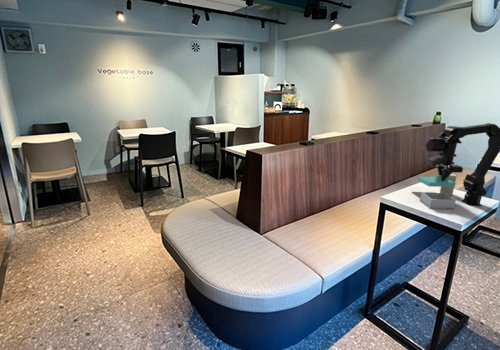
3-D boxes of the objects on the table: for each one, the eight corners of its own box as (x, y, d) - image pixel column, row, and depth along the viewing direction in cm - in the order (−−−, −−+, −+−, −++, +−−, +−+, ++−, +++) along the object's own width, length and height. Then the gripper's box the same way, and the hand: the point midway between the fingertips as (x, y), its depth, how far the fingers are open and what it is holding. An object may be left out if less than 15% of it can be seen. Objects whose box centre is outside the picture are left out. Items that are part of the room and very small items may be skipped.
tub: (442, 201, 156) (444, 193, 154) (453, 209, 146) (455, 200, 145) (419, 200, 156) (421, 192, 155) (429, 208, 147) (431, 199, 145)
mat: (435, 193, 168) (436, 192, 168) (447, 200, 158) (447, 199, 157) (411, 192, 169) (411, 191, 169) (421, 199, 158) (421, 198, 158)
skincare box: (452, 194, 167) (457, 174, 163) (451, 196, 163) (456, 176, 160) (439, 191, 170) (444, 172, 167) (438, 193, 167) (443, 173, 163)
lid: (441, 180, 161) (443, 170, 159) (454, 186, 150) (456, 176, 148) (417, 180, 161) (418, 170, 159) (428, 186, 150) (430, 176, 148)
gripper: (422, 147, 154) (416, 174, 159) (443, 155, 137) (436, 186, 141) (442, 147, 154) (436, 175, 159) (467, 156, 136) (459, 186, 141)
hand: (441, 180), depth 150 cm, fingers closed on lid
